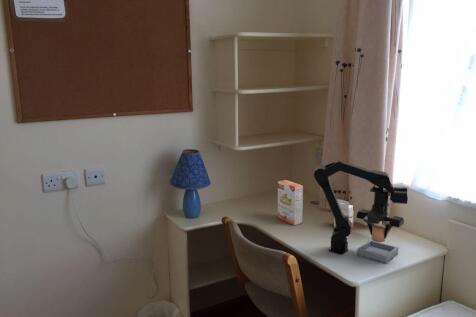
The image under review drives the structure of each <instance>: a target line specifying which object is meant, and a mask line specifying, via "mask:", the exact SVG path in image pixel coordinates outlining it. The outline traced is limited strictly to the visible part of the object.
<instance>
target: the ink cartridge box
mask: <svg viewBox="0 0 476 317" xmlns="http://www.w3.org/2000/svg"><path fill="white" fill-rule="evenodd" d="M337 200H338V203H339V205H340V208H341V210H342V212H343V214H344V215H345V216H347V215H348V216H349V220H350V221H351V222H352V227H351V229H353V228H354V211H353V206H354V205H351V204H350V202H349V200H348V201H346V200H343V199H339V198H337ZM333 227H334V228H335V227H336V223H335V218H333Z"/></svg>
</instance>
